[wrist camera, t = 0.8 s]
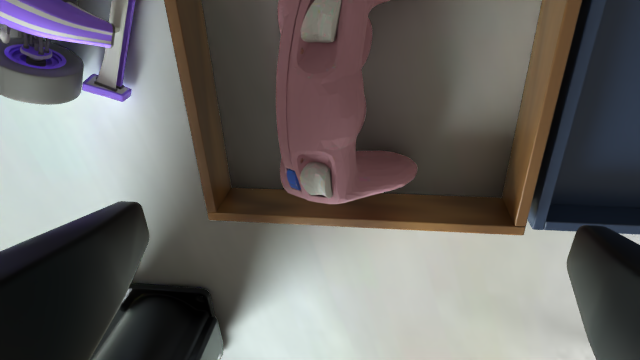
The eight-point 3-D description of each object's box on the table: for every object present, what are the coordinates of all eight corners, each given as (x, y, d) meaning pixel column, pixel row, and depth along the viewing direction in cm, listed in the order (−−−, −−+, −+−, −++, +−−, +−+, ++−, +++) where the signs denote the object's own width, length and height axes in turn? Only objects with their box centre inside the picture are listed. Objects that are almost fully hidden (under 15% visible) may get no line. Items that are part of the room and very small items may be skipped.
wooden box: (224, 194, 23) (208, 220, 21) (173, -98, 17) (142, -103, 15) (509, 205, 21) (523, 235, 19) (581, -121, 15) (615, -130, 13)
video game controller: (354, -54, 18) (239, -54, 13) (461, -50, 16) (371, -47, 11) (342, 155, 23) (255, 214, 18) (422, 180, 21) (348, 256, 16)
